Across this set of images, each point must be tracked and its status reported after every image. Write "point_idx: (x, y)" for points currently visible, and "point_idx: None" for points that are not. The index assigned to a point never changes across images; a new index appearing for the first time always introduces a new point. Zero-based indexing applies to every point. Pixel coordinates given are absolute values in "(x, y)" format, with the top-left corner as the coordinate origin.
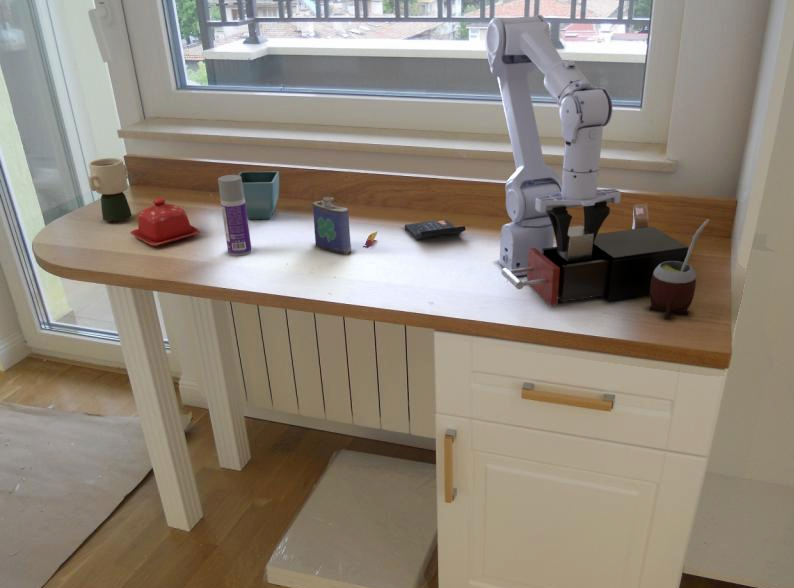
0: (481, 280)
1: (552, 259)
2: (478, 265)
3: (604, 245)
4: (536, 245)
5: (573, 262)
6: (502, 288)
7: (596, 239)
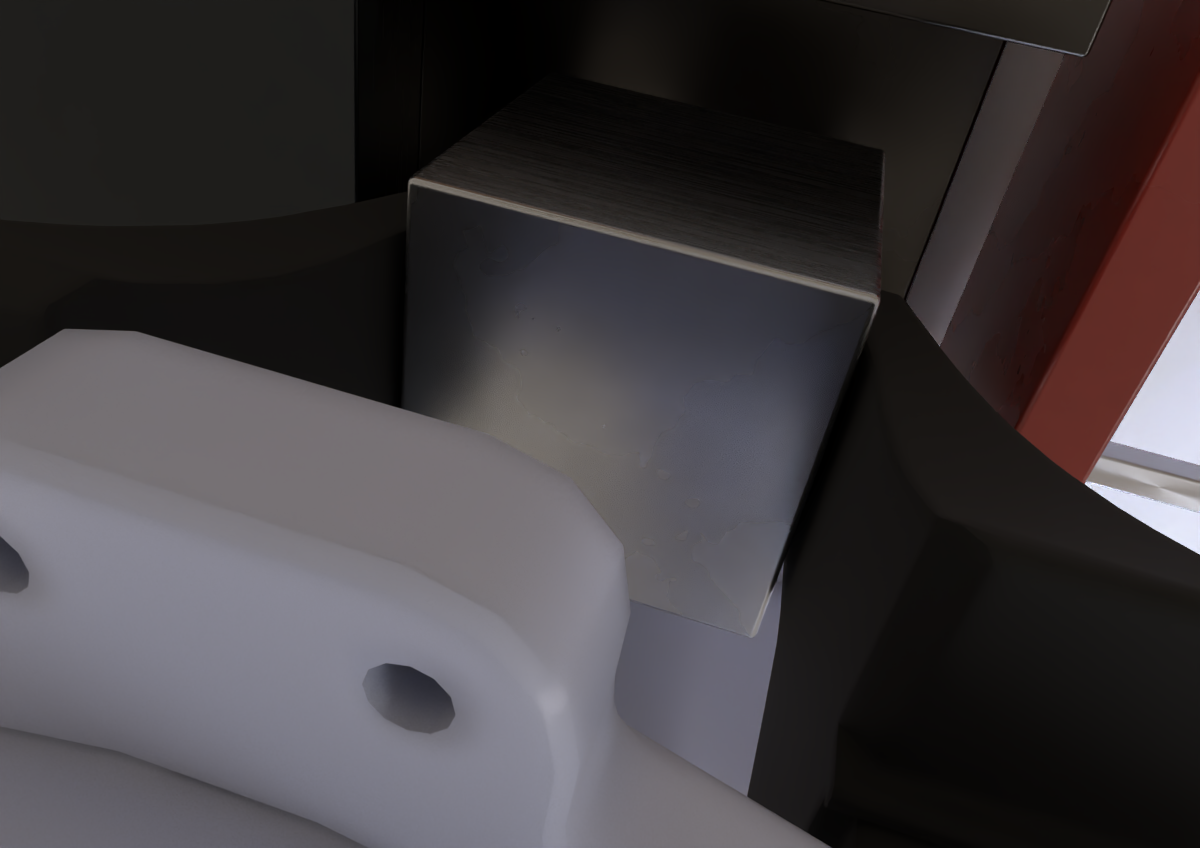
0: None
1: None
2: None
3: (270, 192)
4: (688, 697)
5: None
6: (1120, 504)
7: None
